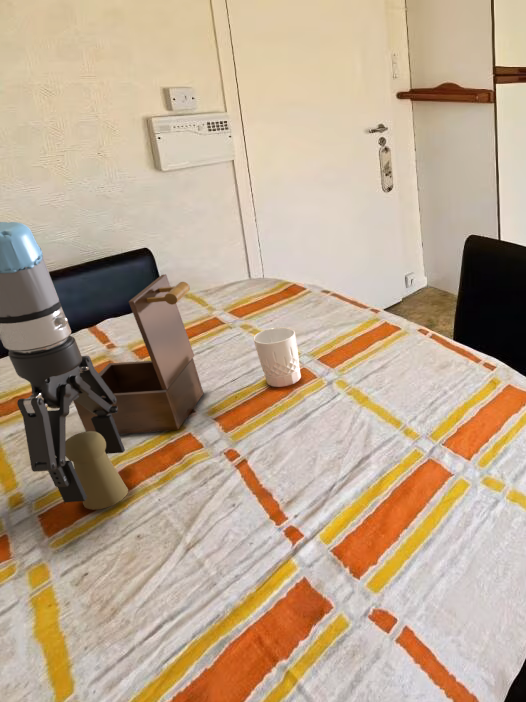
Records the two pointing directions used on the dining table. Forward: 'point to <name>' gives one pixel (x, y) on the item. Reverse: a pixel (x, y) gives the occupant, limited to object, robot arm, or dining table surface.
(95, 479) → the cork
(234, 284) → the dining table surface
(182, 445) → the dining table surface
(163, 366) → the lid
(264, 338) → the white cup
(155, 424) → the chest
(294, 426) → the dining table surface
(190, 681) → the dining table surface
